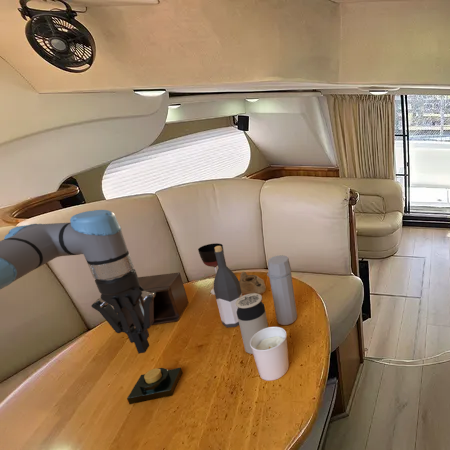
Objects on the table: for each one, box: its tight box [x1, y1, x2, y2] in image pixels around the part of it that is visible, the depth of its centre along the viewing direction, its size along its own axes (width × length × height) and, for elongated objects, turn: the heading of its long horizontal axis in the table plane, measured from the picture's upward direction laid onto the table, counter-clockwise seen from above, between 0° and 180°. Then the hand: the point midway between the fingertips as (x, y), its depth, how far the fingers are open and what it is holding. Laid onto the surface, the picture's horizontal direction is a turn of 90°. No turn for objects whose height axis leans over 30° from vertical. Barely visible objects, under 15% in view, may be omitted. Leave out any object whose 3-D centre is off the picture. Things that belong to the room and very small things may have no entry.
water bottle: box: [266, 254, 298, 326], centre depth 111 cm, size 9×8×25 cm
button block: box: [126, 367, 184, 405], centre depth 87 cm, size 10×8×4 cm
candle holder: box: [250, 326, 290, 382], centre depth 91 cm, size 10×10×12 cm
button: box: [144, 367, 162, 384], centre depth 86 cm, size 4×4×2 cm
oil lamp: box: [239, 271, 267, 295], centre depth 130 cm, size 11×15×8 cm
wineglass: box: [197, 242, 225, 296], centre depth 130 cm, size 8×9×20 cm
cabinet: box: [138, 272, 190, 326], centre depth 115 cm, size 16×12×14 cm
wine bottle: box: [213, 246, 243, 328], centre depth 109 cm, size 8×8×30 cm
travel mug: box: [236, 293, 269, 355], centre depth 99 cm, size 8×8×18 cm
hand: (144, 349), depth 84 cm, fingers closed
